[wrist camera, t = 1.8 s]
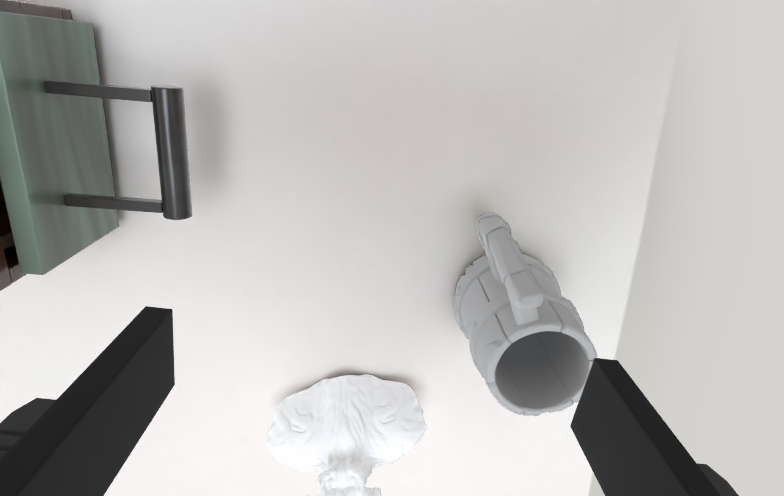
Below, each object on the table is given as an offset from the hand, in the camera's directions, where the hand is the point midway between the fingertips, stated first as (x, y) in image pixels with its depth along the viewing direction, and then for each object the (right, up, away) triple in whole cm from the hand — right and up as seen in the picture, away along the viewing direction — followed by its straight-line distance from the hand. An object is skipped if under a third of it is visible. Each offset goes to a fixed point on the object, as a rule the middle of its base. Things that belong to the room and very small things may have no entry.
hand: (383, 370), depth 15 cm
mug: (+8, +2, +21) cm, 22 cm away
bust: (-3, -9, +25) cm, 27 cm away
